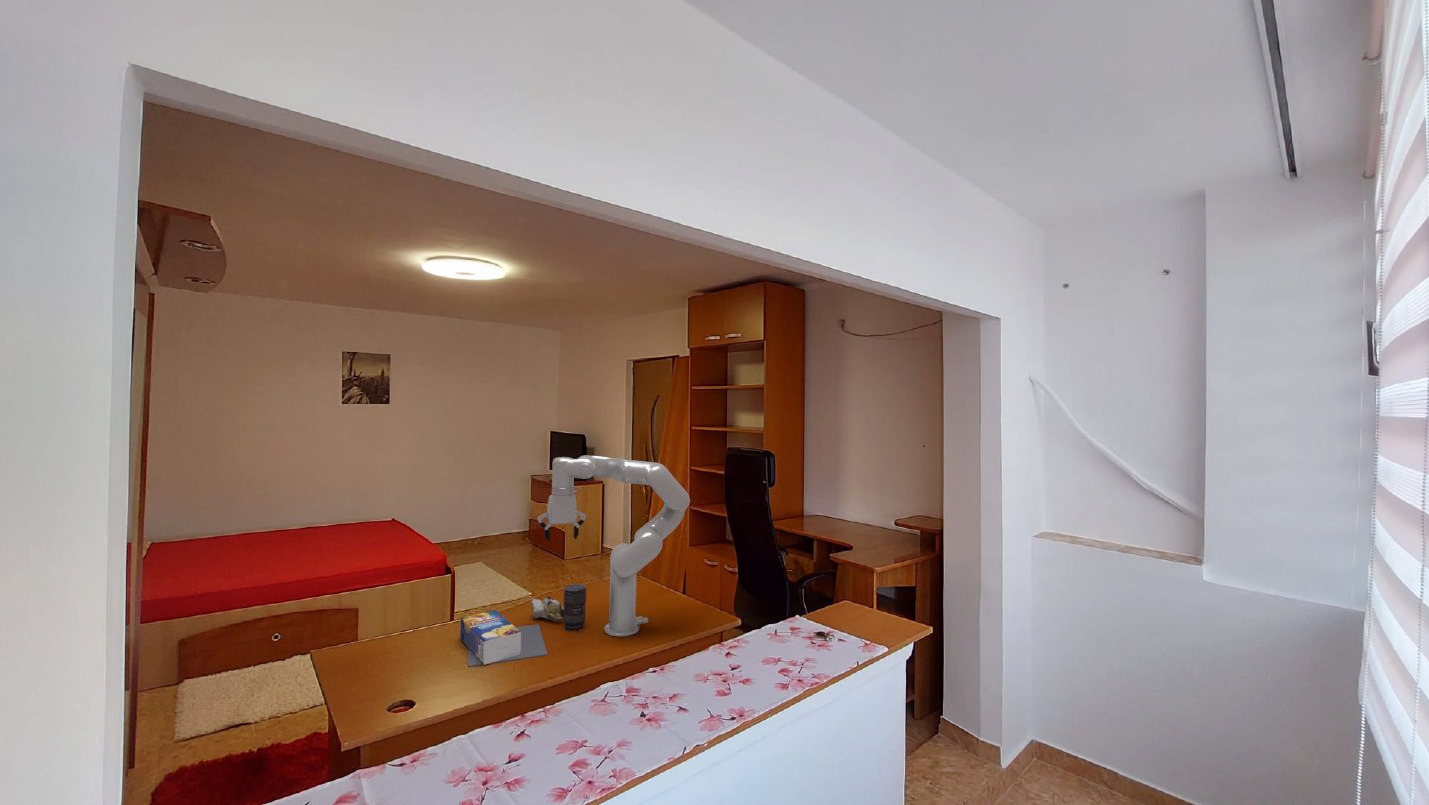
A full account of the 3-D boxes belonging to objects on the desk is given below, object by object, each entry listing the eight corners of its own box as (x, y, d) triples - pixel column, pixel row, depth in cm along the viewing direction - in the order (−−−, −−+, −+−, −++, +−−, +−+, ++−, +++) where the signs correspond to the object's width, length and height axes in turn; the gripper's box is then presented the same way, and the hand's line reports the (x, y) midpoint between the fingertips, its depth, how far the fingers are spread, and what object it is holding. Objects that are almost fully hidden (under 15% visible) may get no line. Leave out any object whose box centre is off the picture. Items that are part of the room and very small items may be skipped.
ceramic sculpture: (537, 589, 223) (574, 594, 222) (536, 611, 223) (572, 616, 222) (526, 599, 213) (564, 604, 211) (524, 622, 213) (562, 627, 211)
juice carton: (484, 641, 178) (460, 617, 196) (483, 665, 178) (460, 639, 196) (521, 632, 186) (495, 609, 204) (520, 654, 186) (495, 630, 204)
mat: (538, 625, 211) (538, 624, 211) (547, 655, 187) (547, 654, 187) (468, 634, 201) (468, 633, 201) (468, 667, 177) (468, 665, 177)
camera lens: (589, 625, 212) (590, 585, 212) (577, 633, 204) (578, 592, 204) (571, 622, 214) (572, 582, 214) (558, 630, 207) (559, 589, 207)
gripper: (585, 489, 210) (583, 535, 210) (536, 491, 203) (535, 538, 203) (588, 492, 203) (587, 540, 203) (538, 494, 196) (537, 543, 196)
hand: (561, 539), depth 203 cm, fingers open, 9 cm apart
